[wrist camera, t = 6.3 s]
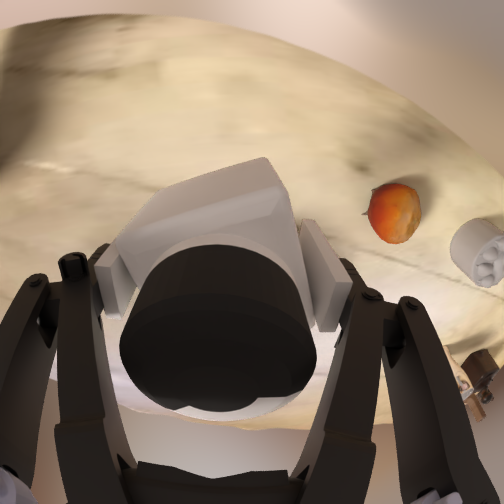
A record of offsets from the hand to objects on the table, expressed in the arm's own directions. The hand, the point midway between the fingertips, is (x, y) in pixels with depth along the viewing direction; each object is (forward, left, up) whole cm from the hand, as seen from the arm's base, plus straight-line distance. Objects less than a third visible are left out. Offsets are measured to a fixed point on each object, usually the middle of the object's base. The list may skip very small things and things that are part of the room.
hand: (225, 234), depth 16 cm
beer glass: (+65, +1, -20) cm, 68 cm away
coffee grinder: (+86, +6, -20) cm, 89 cm away
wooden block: (+115, -1, -20) cm, 117 cm away
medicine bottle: (0, 0, -2) cm, 2 cm away
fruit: (+19, +11, -20) cm, 29 cm away
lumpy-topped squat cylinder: (+40, +21, -20) cm, 49 cm away
